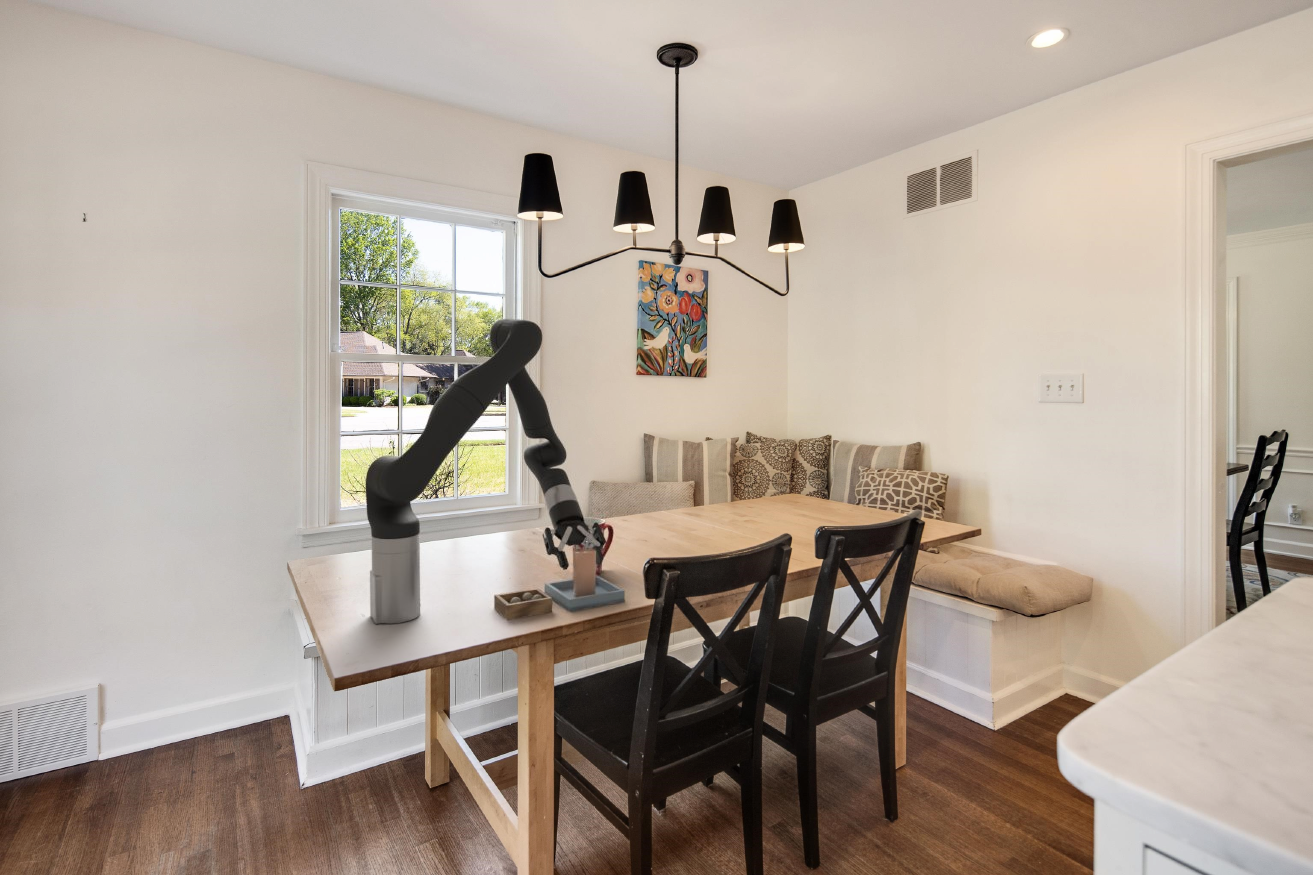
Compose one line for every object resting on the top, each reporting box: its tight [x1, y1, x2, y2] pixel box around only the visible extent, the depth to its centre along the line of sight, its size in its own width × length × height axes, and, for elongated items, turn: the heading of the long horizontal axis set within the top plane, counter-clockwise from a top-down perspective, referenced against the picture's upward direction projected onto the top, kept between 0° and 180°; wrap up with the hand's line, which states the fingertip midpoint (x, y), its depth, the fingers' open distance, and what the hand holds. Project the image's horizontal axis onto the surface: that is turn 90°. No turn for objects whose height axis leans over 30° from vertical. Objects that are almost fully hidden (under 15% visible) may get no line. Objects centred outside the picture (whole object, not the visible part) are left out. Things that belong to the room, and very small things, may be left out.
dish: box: [544, 574, 626, 612], centre depth 149 cm, size 14×14×3 cm
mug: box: [572, 517, 615, 575], centre depth 171 cm, size 13×9×14 cm
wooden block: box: [572, 549, 597, 597], centre depth 149 cm, size 5×5×10 cm
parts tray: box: [493, 587, 553, 621], centre depth 140 cm, size 10×8×3 cm
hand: (583, 565), depth 149 cm, fingers open, 8 cm apart
